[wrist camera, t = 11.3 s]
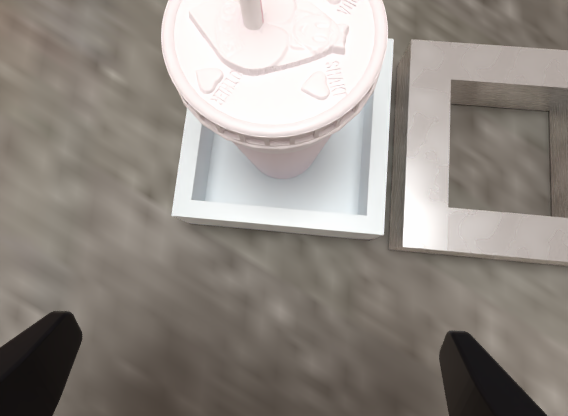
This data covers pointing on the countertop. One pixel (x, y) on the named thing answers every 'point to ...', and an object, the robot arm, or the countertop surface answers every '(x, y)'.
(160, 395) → the countertop surface
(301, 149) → the smoothie
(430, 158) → the bore block
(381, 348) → the countertop surface
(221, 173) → the tray
